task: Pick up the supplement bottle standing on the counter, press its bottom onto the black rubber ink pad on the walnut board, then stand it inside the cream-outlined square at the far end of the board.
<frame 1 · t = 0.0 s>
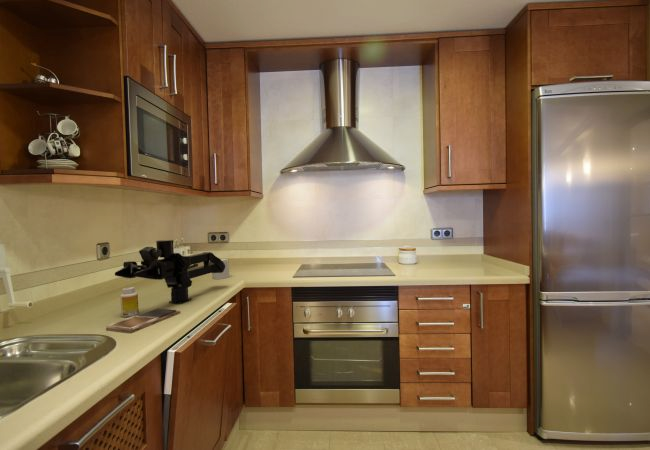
hand: (124, 274, 119), 17 cm above the countertop, tool horizontal, fingers open, 9 cm apart
supplement bottle: (130, 315, 126), on the countertop
small box: (220, 278, 191), on the countertop
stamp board: (145, 320, 119), on the countertop
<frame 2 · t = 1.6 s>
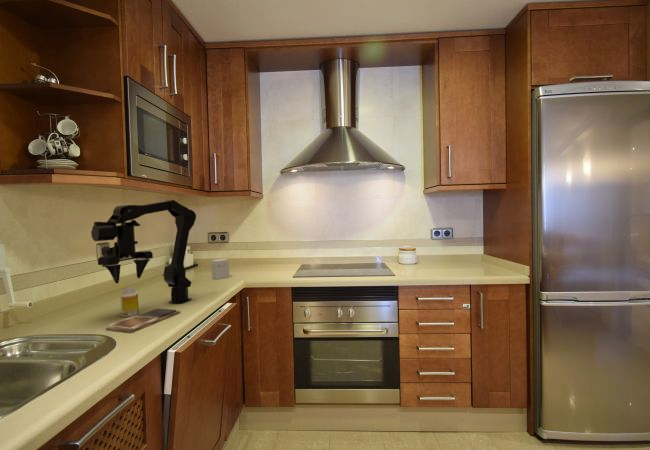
hand: (128, 280, 126), 13 cm above the countertop, tool pointing down, fingers open, 9 cm apart
nothing on the countertop moved.
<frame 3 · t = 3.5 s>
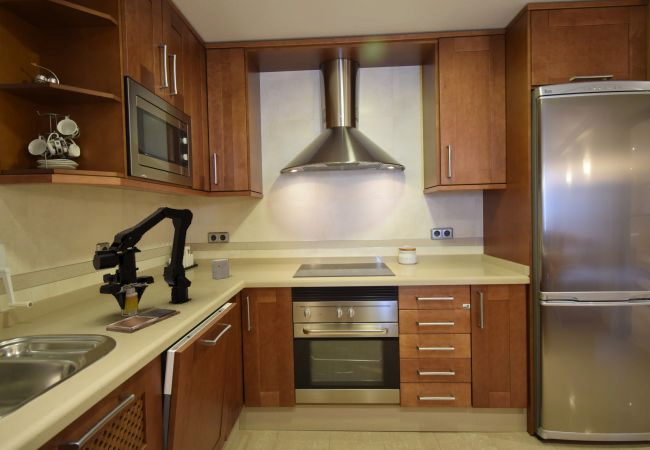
hand: (129, 307, 126), 3 cm above the countertop, tool pointing down, fingers closed on supplement bottle, 5 cm apart
supplement bottle: (130, 315, 126), on the countertop, touching gripper
everything else where it was.
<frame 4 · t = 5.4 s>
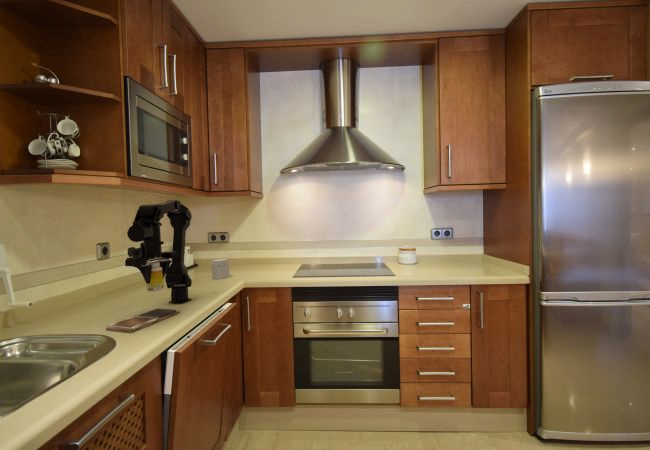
hand: (154, 281, 123), 13 cm above the countertop, tool pointing down, fingers closed on supplement bottle, 5 cm apart
supplement bottle: (155, 290, 123), point 9 cm above the countertop, touching gripper
everything else where it was.
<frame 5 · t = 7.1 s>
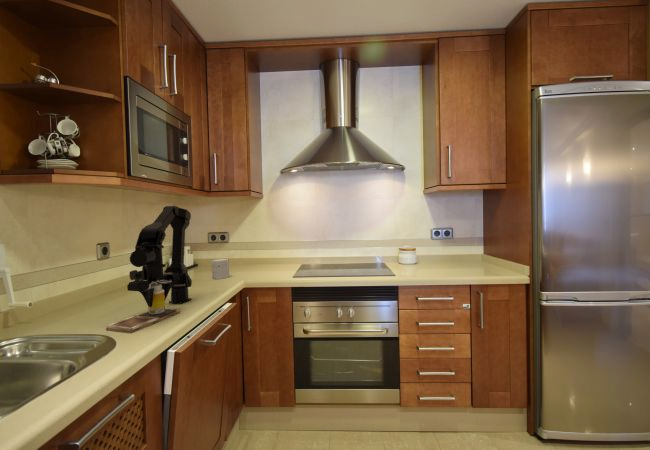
hand: (156, 304, 123), 4 cm above the countertop, tool pointing down, fingers closed on supplement bottle, 6 cm apart
supplement bottle: (157, 313, 123), point 1 cm above the countertop, touching gripper, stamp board
everything else where it was.
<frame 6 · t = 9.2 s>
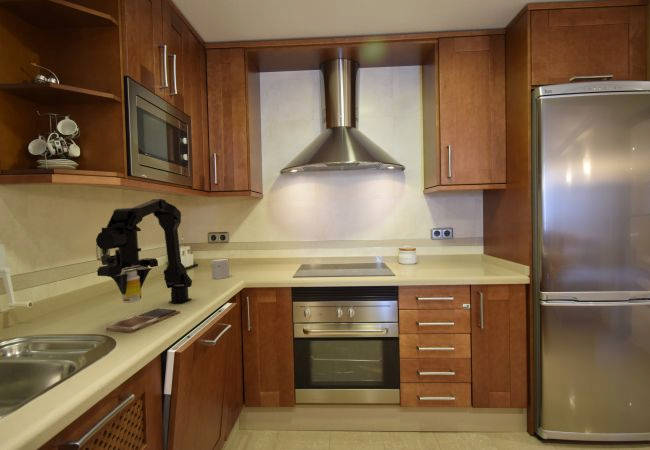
hand: (131, 292, 113), 12 cm above the countertop, tool pointing down, fingers closed on supplement bottle, 5 cm apart
supplement bottle: (132, 301, 114), point 8 cm above the countertop, touching gripper
everything else where it was.
when the fingers open (5 cm above the countertop, at t = 11.1 s): supplement bottle stays where it is, resting on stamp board.
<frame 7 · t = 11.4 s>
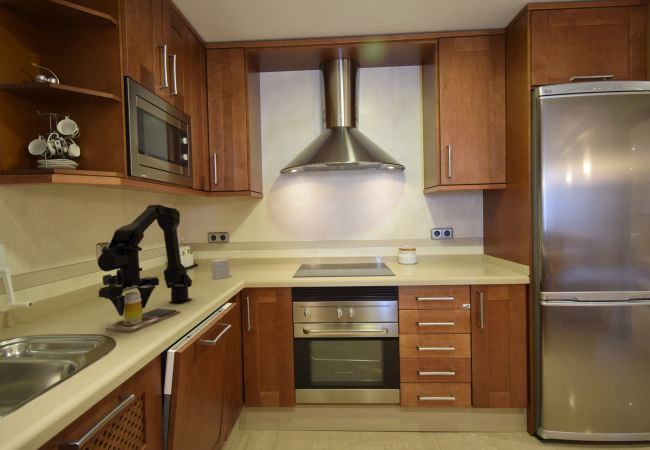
hand: (132, 311, 114), 5 cm above the countertop, tool pointing down, fingers open, 8 cm apart
supplement bottle: (133, 323, 114), point 1 cm above the countertop, touching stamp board
everything else where it was.
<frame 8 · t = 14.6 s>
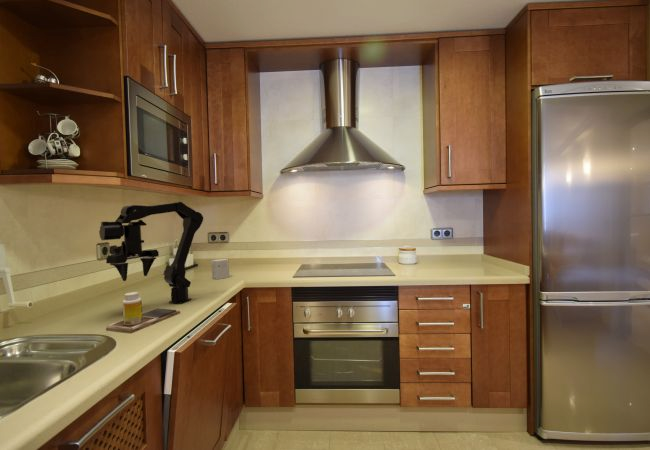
hand: (135, 278, 130), 13 cm above the countertop, tool pointing down, fingers open, 9 cm apart
nothing on the countertop moved.
at the end: supplement bottle inside the target area on the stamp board (0.1 cm from its centre), point 0.6 cm above the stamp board's base; supplement bottle tilted 0°; the gripper is holding nothing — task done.
